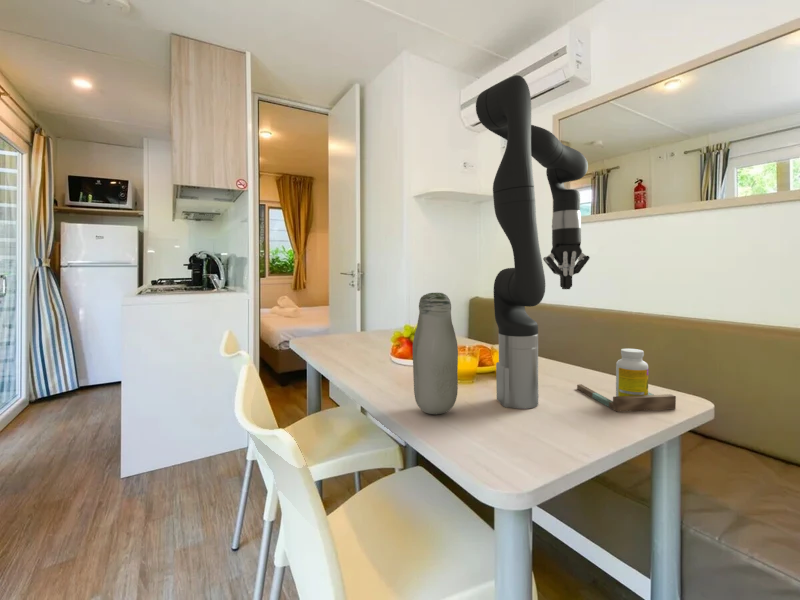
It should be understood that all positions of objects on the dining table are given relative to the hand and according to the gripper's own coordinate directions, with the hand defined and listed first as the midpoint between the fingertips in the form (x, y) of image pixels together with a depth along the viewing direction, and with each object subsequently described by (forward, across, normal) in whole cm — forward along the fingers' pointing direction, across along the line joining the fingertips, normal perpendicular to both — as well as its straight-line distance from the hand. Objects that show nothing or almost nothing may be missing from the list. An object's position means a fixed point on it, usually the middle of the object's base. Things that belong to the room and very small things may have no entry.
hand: (566, 289), depth 109 cm
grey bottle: (+27, -41, -20) cm, 53 cm away
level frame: (+27, +6, -16) cm, 32 cm away
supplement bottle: (+27, +7, -19) cm, 34 cm away
